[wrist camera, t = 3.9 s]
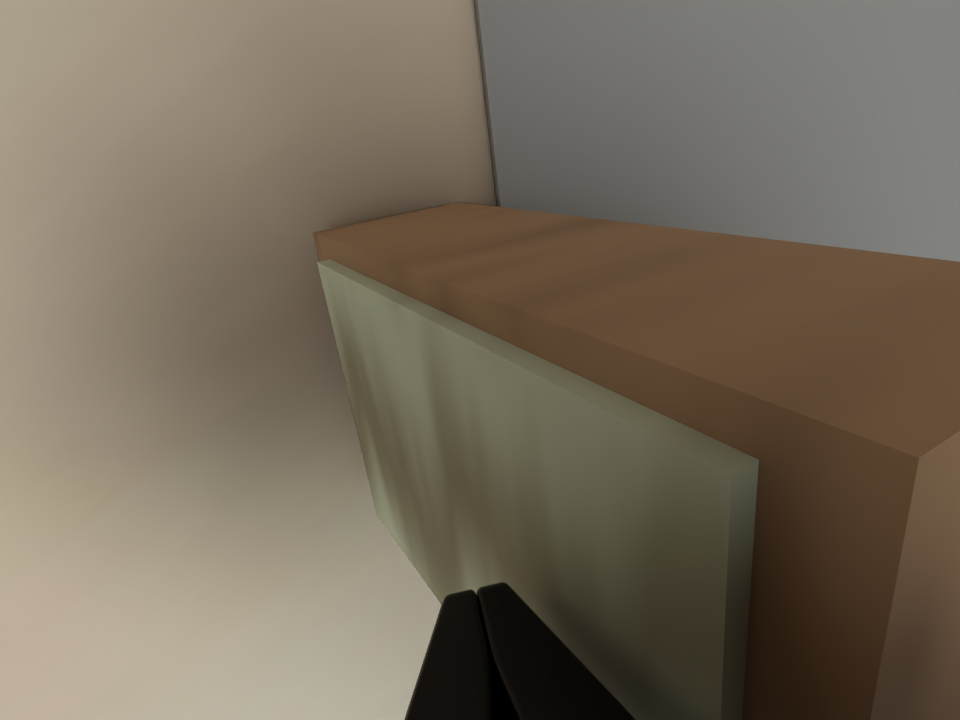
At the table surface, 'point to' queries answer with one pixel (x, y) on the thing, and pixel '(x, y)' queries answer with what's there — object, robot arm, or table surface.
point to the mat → (732, 116)
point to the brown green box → (671, 449)
